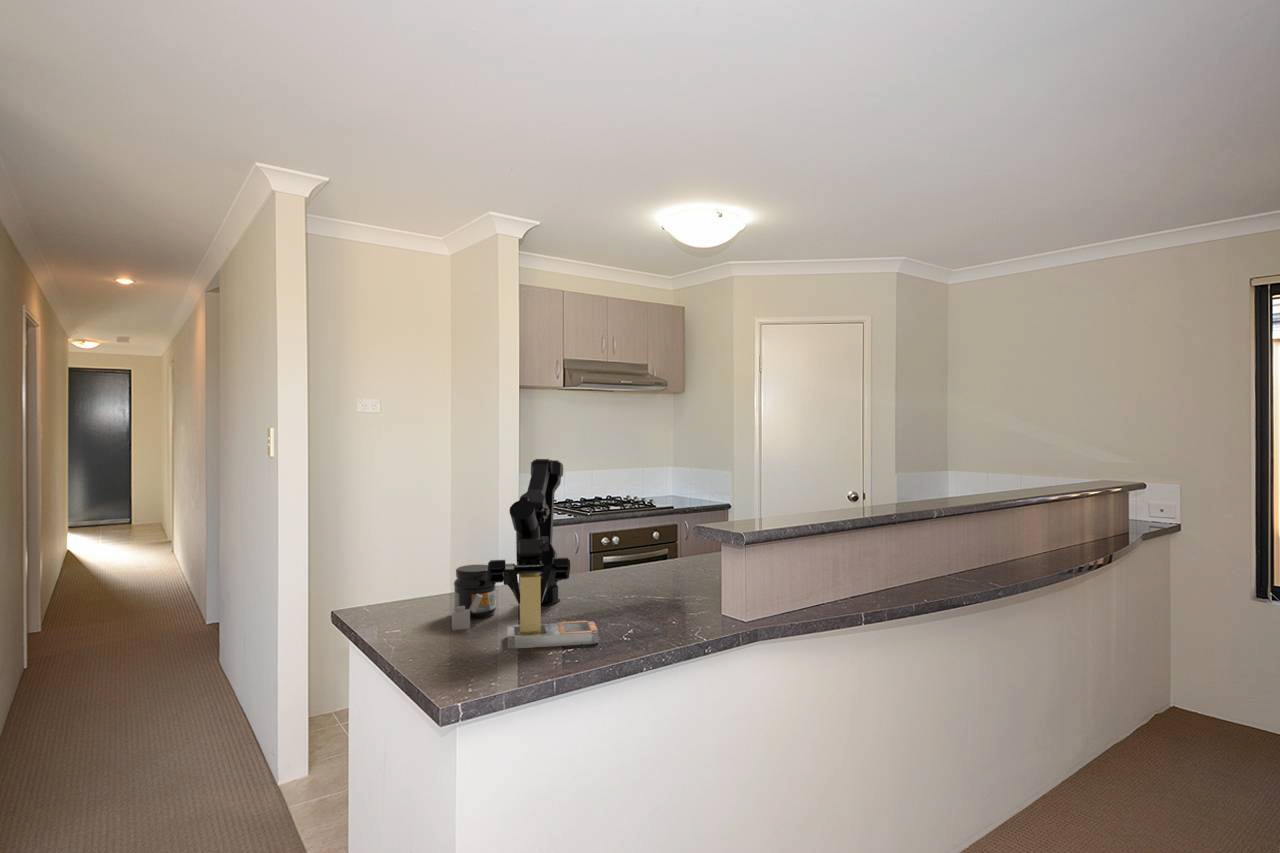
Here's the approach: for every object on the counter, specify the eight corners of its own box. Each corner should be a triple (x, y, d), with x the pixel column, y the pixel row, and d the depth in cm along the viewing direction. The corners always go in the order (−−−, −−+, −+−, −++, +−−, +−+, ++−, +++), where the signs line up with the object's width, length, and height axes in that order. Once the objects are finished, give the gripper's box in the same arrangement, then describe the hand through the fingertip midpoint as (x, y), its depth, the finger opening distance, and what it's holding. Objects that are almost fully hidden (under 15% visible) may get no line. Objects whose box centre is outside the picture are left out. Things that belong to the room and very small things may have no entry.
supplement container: (501, 616, 181) (501, 569, 181) (460, 622, 176) (460, 574, 176) (488, 607, 190) (488, 562, 190) (448, 612, 185) (448, 566, 185)
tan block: (520, 635, 159) (520, 577, 158) (519, 629, 163) (519, 573, 163) (540, 634, 159) (540, 576, 159) (539, 628, 164) (539, 572, 164)
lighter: (452, 630, 169) (452, 596, 169) (451, 628, 171) (451, 595, 171) (482, 627, 172) (482, 594, 172) (481, 625, 173) (481, 592, 173)
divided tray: (507, 648, 156) (507, 636, 156) (507, 636, 165) (507, 624, 165) (598, 643, 160) (598, 631, 160) (593, 631, 168) (593, 620, 168)
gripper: (487, 525, 163) (487, 585, 152) (569, 523, 166) (574, 581, 156) (488, 552, 171) (487, 611, 160) (566, 550, 174) (570, 607, 164)
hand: (530, 602), depth 160 cm, fingers closed on tan block, 4 cm apart
